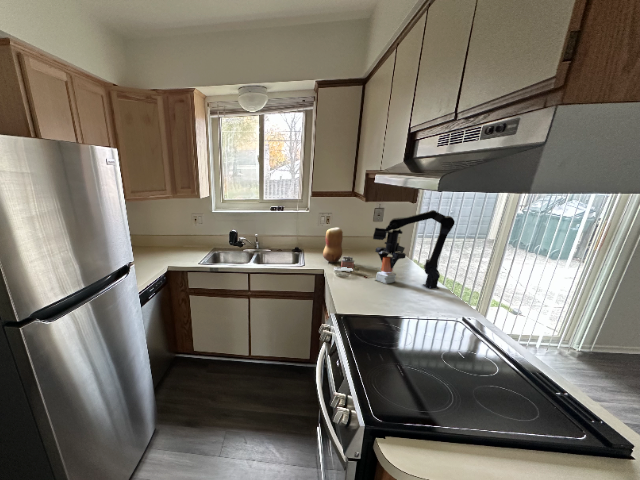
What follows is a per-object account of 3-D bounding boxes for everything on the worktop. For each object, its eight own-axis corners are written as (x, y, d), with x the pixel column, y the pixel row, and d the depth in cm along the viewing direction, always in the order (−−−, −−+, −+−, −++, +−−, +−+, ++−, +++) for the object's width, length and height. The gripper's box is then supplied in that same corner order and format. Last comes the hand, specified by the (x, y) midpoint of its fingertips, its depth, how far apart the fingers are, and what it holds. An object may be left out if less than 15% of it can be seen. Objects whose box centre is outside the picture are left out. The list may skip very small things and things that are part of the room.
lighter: (352, 270, 213) (354, 256, 209) (353, 272, 210) (355, 257, 206) (340, 270, 215) (342, 255, 211) (340, 271, 212) (342, 256, 208)
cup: (394, 272, 188) (396, 259, 184) (383, 272, 188) (385, 259, 185) (390, 269, 193) (392, 256, 190) (379, 269, 194) (381, 256, 191)
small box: (375, 280, 195) (376, 272, 193) (384, 278, 198) (386, 270, 196) (385, 284, 188) (386, 275, 186) (395, 282, 191) (396, 273, 189)
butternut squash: (319, 260, 238) (322, 226, 229) (336, 259, 241) (339, 225, 231) (327, 265, 226) (331, 229, 216) (345, 264, 228) (349, 229, 218)
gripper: (415, 242, 178) (410, 269, 184) (392, 236, 194) (387, 261, 200) (399, 244, 175) (394, 271, 181) (376, 238, 191) (373, 263, 197)
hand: (387, 266), depth 190 cm, fingers closed on cup, 6 cm apart
